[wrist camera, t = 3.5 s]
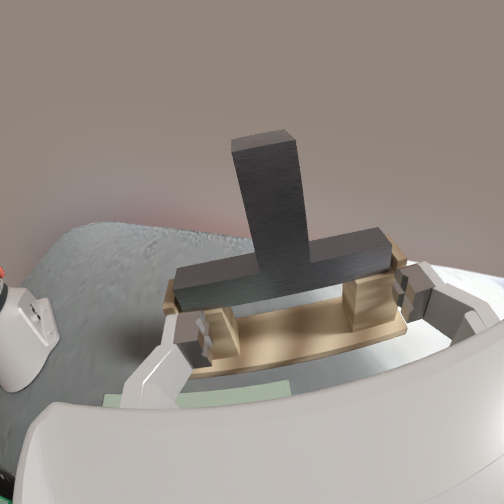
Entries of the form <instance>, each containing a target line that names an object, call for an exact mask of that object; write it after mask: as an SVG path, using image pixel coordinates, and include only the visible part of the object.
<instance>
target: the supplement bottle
mask: <svg viewBox="0 0 504 504" xmlns="http://www.w3.org/2000/svg"><path fill="white" fill-rule="evenodd" d="M14 485H15V478H14V477H12V476H10V475H8V474H6V473H4V472H3V471H1V470H0V504H13V493H14Z"/></svg>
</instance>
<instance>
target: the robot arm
mask: <svg viewBox="0 0 504 504" xmlns="http://www.w3.org/2000/svg"><path fill="white" fill-rule="evenodd" d="M4 276H5V274H4V271H3V269H2V267H0V386H1V387H2V388H3V389H4V390H5V391H7V392H17V391H19V390H21V389H23V388H25V387H26V386H27V385H28V384H30V383H31V382H32V381H33V380H34V378H35V377H36V376H37V375H38V373H39V372H40V370H41V369H42V367H43V365H44V363H45V361H46V359H47V357H48V355H49V353H50V352H51V350H52V349H53V348H54V347H55V346H56V344H57V343H58V341H59V339H60V336H59V333H58V329H57V326H56V322H55V319H54V315H53V311H52V307H51V303H50V301H49V299H48V298H42V299H39V300H36V299H35V298H34V297H33V295H32V294H31V293H30V292H29V290H28V289H26V288H10V287H9V288H8V287H7V285H6V284H5V283H4V282H3V281H2V280H1V278H3V277H4ZM394 277H395V279H396V281H395V282H394V283H393V286H392V295H393V299H394V301H395V303H396V305H397V306H399V307H401V308H402V309H401V314H402V316H403V317H404V319H405V321H406V323H410V322H413V321H416V320H420V319H423V320H425V321H426V322H428V323H429V324H430V325H432V326H433V327H435V328H436V329H437V330H439V331H440V332H442V333H443V334H444V335H446V336H447V337H449V338H450V339H451V340H452V342H451V344H450V345H449V347H448V348H446V349H443V350H441V351H439V352H436V353H434V354H431V355H429V356H427V357H424V358H421V359H419V360H416V361H414V362H411V363H408V364H406V365H403V366H400V367H397V368H394V369H391V370H388V371H385V372H382V373H379V374H376V375H373V376H370V377H366V378H363V379H359V380H356V381H352V382H349V383H345V384H341V385H337V386H333V387H329V388H325V389H321V390H316V391H312V392H307V393H303V394H298V395H292V396H287V397H282V398H276V399H270V400H263V401H256V402H249V403H241V404H232V405H222V406H211V407H197V408H180V407H179V406H178V405H177V404H176V403H175V402H174V400H175V399H176V397H177V395H178V394H179V392H180V391H181V389H182V387H183V386H184V384H185V383H186V381H187V379H188V378H189V376H190V375H191V373H192V371H193V369H197V368H205V367H212V360H213V353H212V351H211V349H210V348H211V347H212V345H213V335H212V330H211V327H210V325H209V323H207V322H205V317H206V316H205V314H204V312H203V311H201V310H200V311H193V312H185V313H179V314H171V315H167V317H166V319H165V324H164V329H163V335H162V340H161V345H160V346H157V347H156V348H155V349H154V350H153V351H152V352H151V354H150V355H149V356H148V357H147V358H146V359H145V360H144V362H143V363H142V364H141V365H140V366H139V367H138V368H137V369H136V371H135V372H134V373H133V374H132V375H131V376H130V377H129V379H128V380H127V381H126V382H125V384H124V388H123V393H122V398H121V403H120V408H111V407H98V406H87V405H78V404H70V403H63V402H53V403H51V404H50V405H49V406H47V407H46V408H45V409H44V410H43V411H42V412H41V413H40V414H39V415H38V416H37V417H36V418H35V419H34V420H33V421H32V423H31V424H30V426H29V428H28V431H27V434H26V436H25V439H24V443H23V446H22V450H21V454H20V458H19V462H18V467H17V472H16V478H15V485H14V493H13V504H504V319H503V320H502V321H500V319H499V318H498V317H497V315H496V314H495V312H494V311H493V310H492V308H491V307H490V306H489V304H488V303H487V302H485V301H483V300H481V299H479V298H477V297H475V296H473V295H471V294H469V293H467V292H465V291H463V290H461V289H458V288H456V287H454V286H452V285H450V284H448V283H446V284H444V282H443V281H442V280H441V278H440V277H439V276H438V275H437V273H436V272H435V271H434V270H433V268H432V267H431V266H430V265H429V264H428V263H427V262H426V261H423V262H420V263H417V264H413V265H410V266H406V267H402V268H399V269H396V271H395V274H394Z"/></svg>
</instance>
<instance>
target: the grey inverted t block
mask: <svg viewBox="0 0 504 504" xmlns="http://www.w3.org/2000/svg"><path fill="white" fill-rule="evenodd" d="M231 143H232V144H231V146H232V149H231V150H232V156H233V160H234V165H235V169H236V173H237V177H238V182H239V186H240V190H241V194H242V198H243V202H244V207H245V211H246V215H247V219H248V224H249V228H250V232H251V236H252V241H253V245H254V249H255V253H250V254H245V255H240V256H235V257H230V258H225V259H220V260H215V261H210V262H206V263H201V264H196V265H191V266H186V267H181V268H177V271H176V275H175V280H174V284H173V289H172V290H173V292H174V294H175V296H176V298H177V300H178V302H179V304H180V306H181V308H182V310H183V312H184V313H185V312H193V311H200V310H201V311H206V310H212V309H218V308H224V307H230V306H235V305H241V304H246V303H251V302H256V301H262V300H267V299H272V298H277V297H282V296H287V295H291V294H296V293H301V292H305V291H310V290H315V289H319V288H324V287H328V286H332V285H337V284H341V283H345V282H350V281H354V280H358V279H362V278H366V277H370V276H374V275H378V274H382V273H386V272H389V270H390V262H391V254H392V243H391V242H390V241H389V240H388V239H387V237H386V236H385V235H384V234H383V232H382V231H381V230H380V229H379V228H378V227H377V228H372V229H367V230H363V231H357V232H352V233H348V234H342V235H338V236H333V237H328V238H323V239H318V240H313V241H308V230H307V223H306V222H307V221H306V214H305V205H304V197H303V188H302V181H301V174H300V166H299V160H298V153H297V147H296V140H295V139H294V138H293V137H292V136H291V135H290V134H288V132H286V131H285V130H278V131H272V132H267V133H261V134H256V135H251V136H247V137H241V138H237V139H233V140H231Z"/></svg>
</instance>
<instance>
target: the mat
mask: <svg viewBox="0 0 504 504" xmlns="http://www.w3.org/2000/svg"><path fill="white" fill-rule="evenodd" d="M287 396H291V391H290V385H289V380H284V381H279V382H273V383H267V384H261V385H255V386H248V387H241V388H233V389H225V390H215V391H205V392H193V393H179V394H178V395H177V397H176V399H175V400H174V402H175V403H176V404H177V405H178V406H179V407H180V408H197V407H211V406H222V405H232V404H241V403H249V402H256V401H263V400H270V399H276V398H282V397H287ZM121 398H122V395H114V394H105V396H104V401H103V405H102V407H111V408H120V403H121Z"/></svg>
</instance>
